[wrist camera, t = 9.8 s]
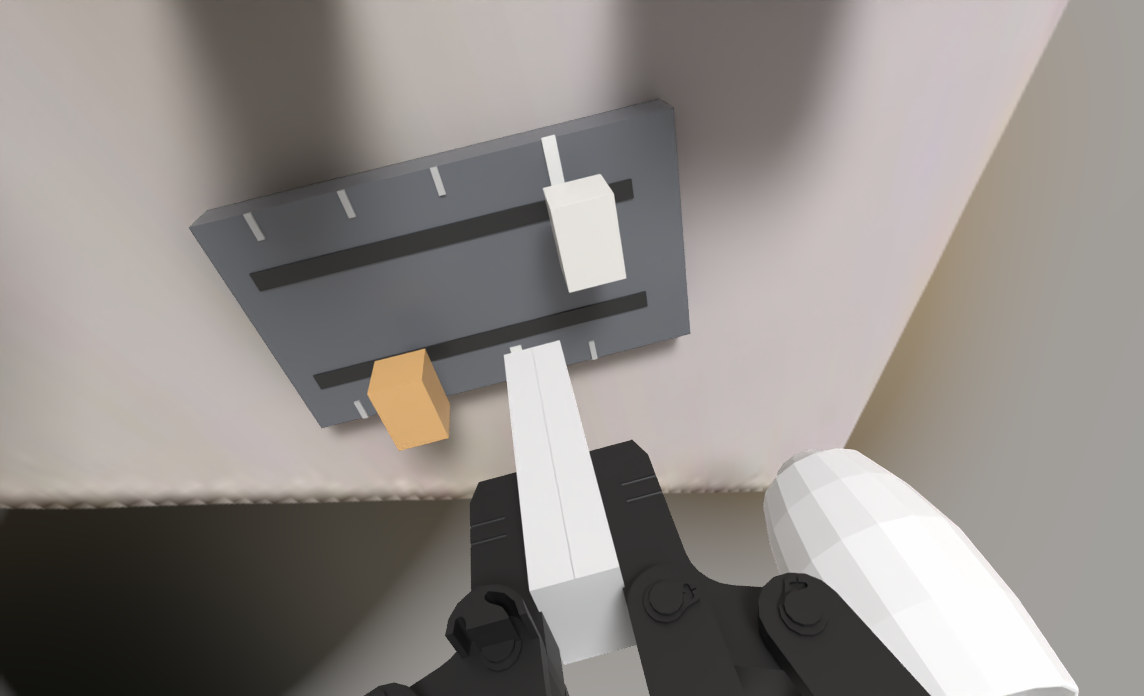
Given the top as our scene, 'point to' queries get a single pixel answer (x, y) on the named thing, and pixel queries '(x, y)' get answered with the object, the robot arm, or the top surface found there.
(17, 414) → the top surface
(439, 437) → the fader orange
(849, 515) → the cup
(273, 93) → the top surface
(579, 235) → the fader white
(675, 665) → the robot arm
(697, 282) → the top surface
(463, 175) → the console
